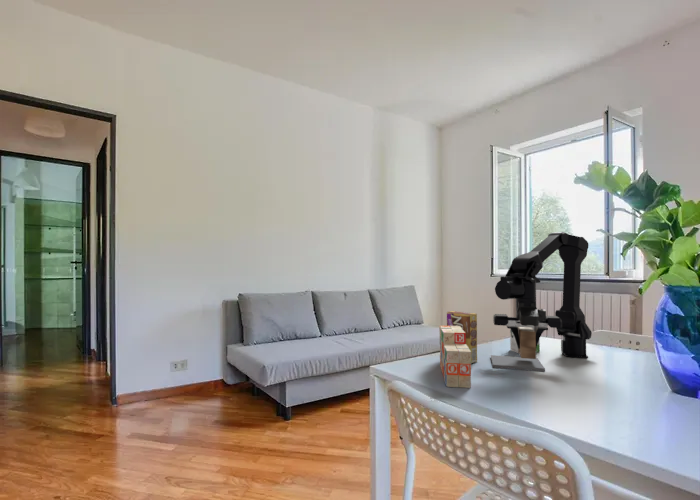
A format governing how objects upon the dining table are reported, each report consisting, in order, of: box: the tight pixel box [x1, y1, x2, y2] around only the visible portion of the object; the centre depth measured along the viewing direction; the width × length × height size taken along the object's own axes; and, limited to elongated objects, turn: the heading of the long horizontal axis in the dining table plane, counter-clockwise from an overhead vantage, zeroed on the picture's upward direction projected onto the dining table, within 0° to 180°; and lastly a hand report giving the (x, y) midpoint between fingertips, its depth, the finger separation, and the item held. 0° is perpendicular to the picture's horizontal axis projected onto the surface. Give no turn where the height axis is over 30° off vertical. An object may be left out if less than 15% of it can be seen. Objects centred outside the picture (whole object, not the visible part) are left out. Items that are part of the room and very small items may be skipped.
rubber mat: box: [490, 354, 546, 372], centre depth 117 cm, size 14×12×1 cm
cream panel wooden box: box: [517, 327, 537, 359], centre depth 117 cm, size 4×7×8 cm, turn 163°
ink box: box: [509, 323, 541, 354], centre depth 134 cm, size 9×5×12 cm, turn 99°
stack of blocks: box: [438, 325, 472, 389], centre depth 107 cm, size 21×6×12 cm, turn 171°
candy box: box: [446, 310, 478, 364], centre depth 122 cm, size 9×4×15 cm, turn 39°
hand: (526, 348), depth 117 cm, fingers closed on cream panel wooden box, 4 cm apart
